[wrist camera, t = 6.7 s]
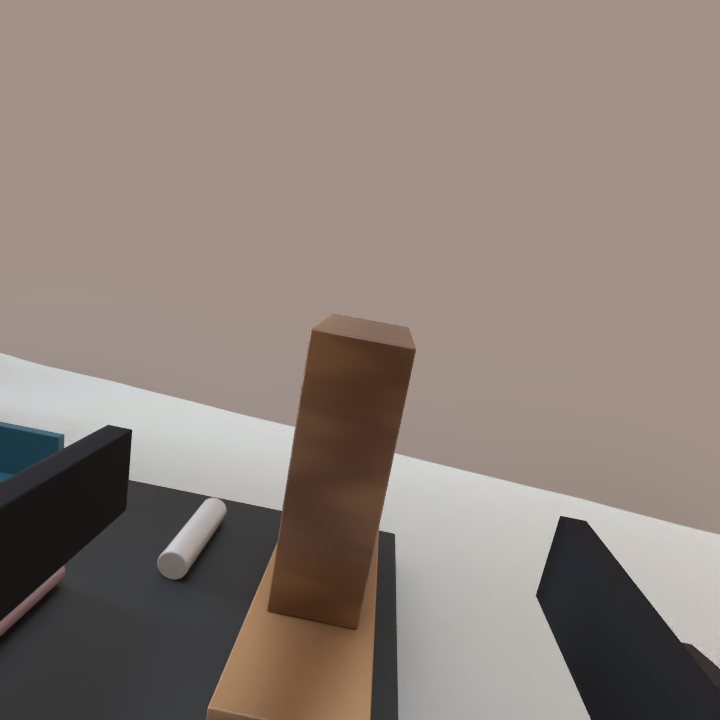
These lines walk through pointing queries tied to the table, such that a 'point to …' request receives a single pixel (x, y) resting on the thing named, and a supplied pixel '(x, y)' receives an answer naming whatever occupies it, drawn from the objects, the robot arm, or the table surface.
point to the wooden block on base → (325, 536)
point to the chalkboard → (159, 619)
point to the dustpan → (25, 447)
